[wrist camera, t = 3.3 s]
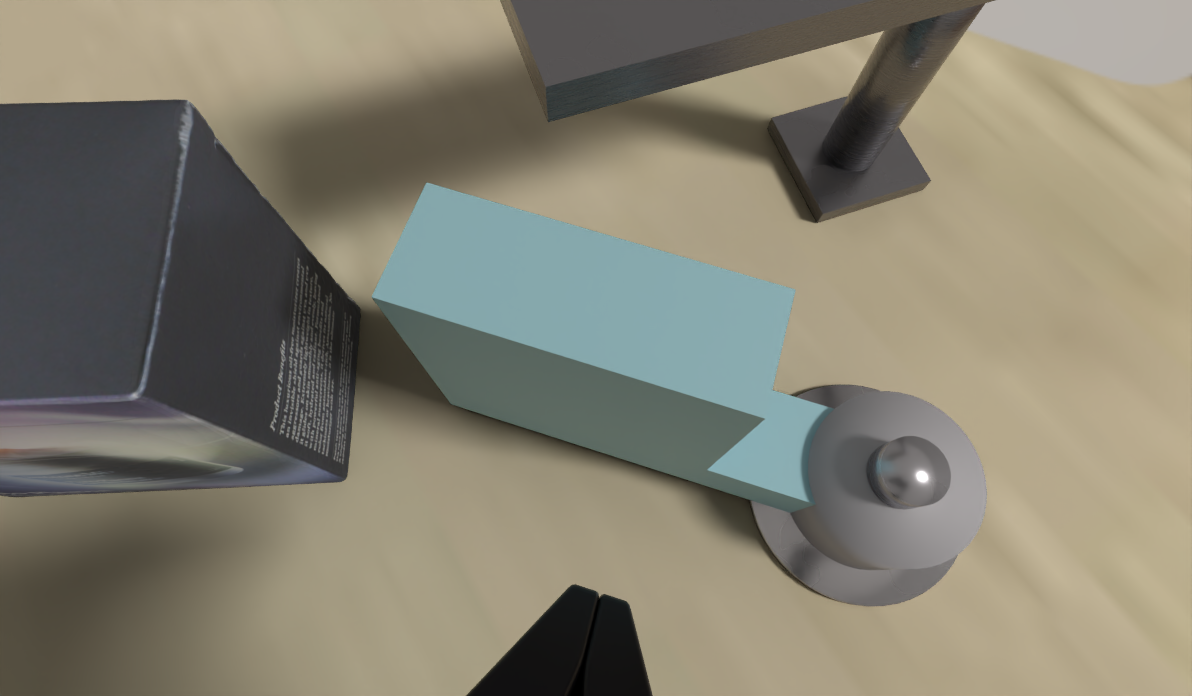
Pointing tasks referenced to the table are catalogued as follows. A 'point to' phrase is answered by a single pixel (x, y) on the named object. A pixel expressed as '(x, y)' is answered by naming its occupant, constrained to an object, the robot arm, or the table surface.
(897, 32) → the keeper
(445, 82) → the table surface
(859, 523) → the link
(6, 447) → the small box
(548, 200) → the table surface
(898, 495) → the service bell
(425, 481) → the table surface
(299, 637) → the table surface
